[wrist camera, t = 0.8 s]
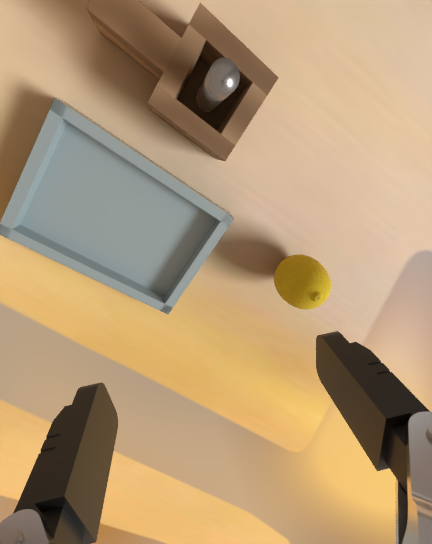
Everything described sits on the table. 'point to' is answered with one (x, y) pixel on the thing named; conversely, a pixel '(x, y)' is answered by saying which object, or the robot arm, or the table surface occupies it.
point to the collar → (186, 67)
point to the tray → (111, 211)
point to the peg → (218, 84)
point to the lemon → (302, 281)
